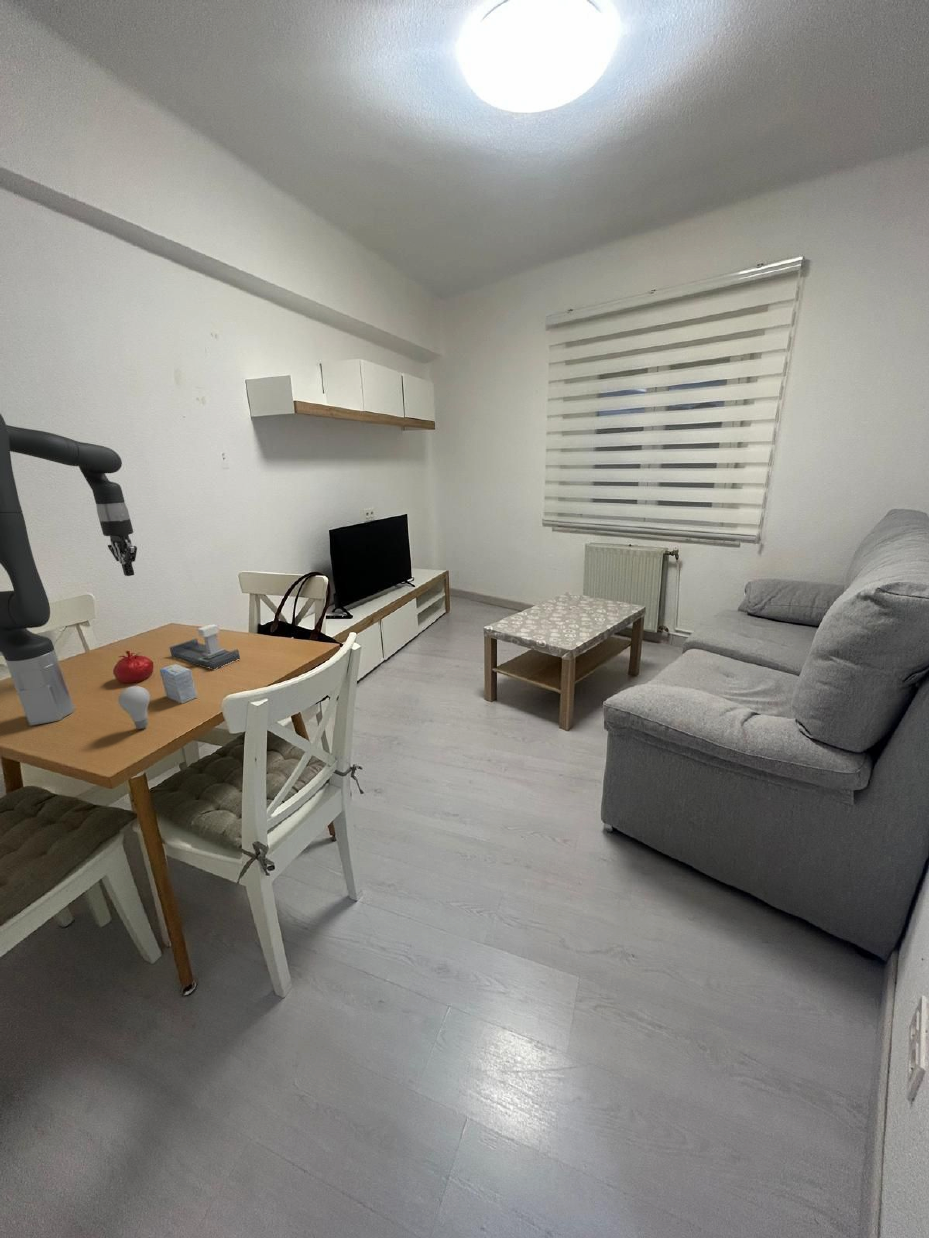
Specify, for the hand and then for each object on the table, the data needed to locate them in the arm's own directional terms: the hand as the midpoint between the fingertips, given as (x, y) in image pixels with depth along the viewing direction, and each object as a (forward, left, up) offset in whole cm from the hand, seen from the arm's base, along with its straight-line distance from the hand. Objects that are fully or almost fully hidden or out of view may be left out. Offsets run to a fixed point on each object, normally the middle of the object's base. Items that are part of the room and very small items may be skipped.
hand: (129, 575), depth 144 cm
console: (-6, -16, -29) cm, 34 cm away
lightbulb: (-49, -5, -29) cm, 57 cm away
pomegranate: (-14, +2, -29) cm, 33 cm away
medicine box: (-35, -12, -29) cm, 47 cm away
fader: (-11, -19, -27) cm, 34 cm away
